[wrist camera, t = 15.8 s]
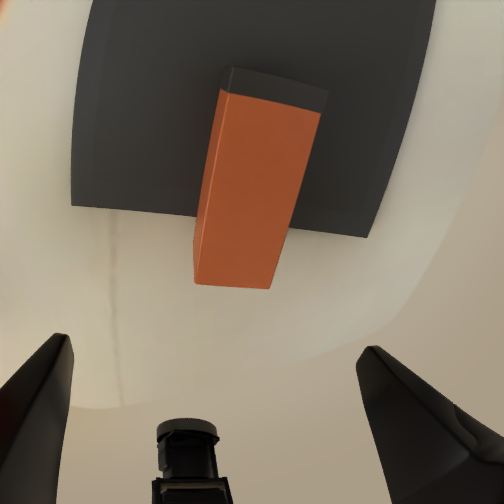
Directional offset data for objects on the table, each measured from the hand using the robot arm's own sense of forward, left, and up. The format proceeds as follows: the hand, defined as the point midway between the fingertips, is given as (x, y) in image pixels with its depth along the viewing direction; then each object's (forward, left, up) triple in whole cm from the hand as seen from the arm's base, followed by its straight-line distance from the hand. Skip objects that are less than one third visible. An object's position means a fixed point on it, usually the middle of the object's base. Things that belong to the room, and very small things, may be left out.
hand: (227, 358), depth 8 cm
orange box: (0, -3, -9) cm, 9 cm away
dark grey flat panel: (+6, -19, -10) cm, 22 cm away
